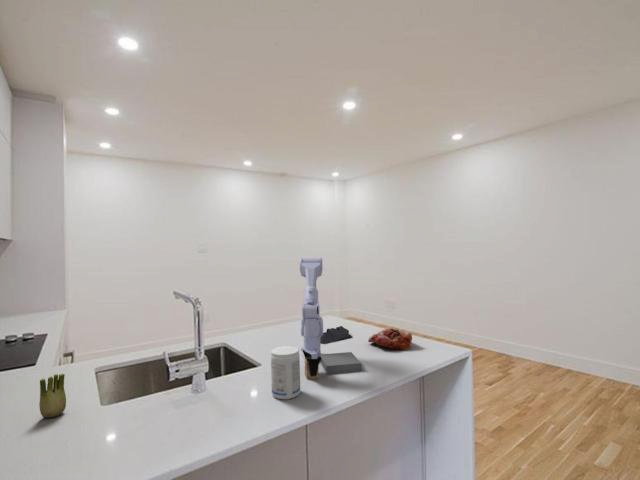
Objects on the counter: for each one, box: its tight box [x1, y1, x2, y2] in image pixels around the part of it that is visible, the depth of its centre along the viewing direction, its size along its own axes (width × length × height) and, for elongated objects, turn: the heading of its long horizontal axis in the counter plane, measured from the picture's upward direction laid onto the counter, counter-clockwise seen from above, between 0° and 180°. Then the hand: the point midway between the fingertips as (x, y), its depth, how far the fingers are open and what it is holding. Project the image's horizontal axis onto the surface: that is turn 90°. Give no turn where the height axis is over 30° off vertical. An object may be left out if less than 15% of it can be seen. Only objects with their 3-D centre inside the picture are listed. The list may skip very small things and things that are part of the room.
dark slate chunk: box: [320, 325, 354, 345], centre depth 180 cm, size 15×22×5 cm
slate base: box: [319, 351, 362, 375], centre depth 139 cm, size 14×14×3 cm
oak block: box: [304, 359, 320, 380], centre depth 128 cm, size 4×4×6 cm
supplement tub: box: [270, 345, 301, 400], centre depth 113 cm, size 10×10×15 cm
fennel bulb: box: [38, 373, 67, 419], centre depth 101 cm, size 6×5×12 cm
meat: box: [367, 327, 413, 351], centre depth 166 cm, size 21×21×10 cm
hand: (311, 371), depth 128 cm, fingers open, 7 cm apart
